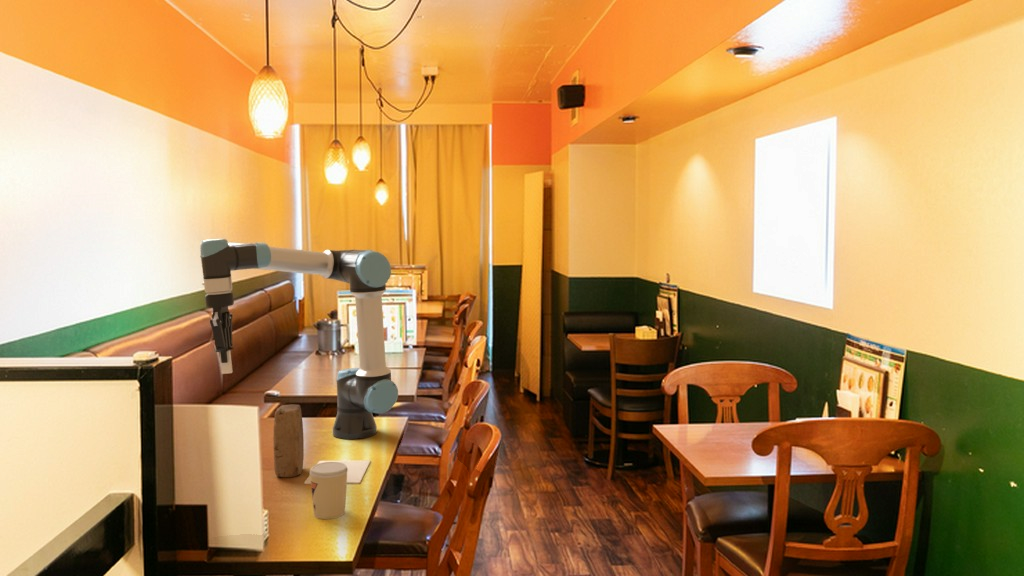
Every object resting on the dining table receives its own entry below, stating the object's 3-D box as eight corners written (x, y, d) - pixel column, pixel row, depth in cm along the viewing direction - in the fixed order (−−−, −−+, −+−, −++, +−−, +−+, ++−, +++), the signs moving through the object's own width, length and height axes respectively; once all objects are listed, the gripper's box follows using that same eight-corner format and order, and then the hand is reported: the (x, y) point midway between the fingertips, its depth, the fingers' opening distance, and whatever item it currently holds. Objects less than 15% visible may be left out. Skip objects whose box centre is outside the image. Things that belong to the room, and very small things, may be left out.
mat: (319, 462, 235) (319, 460, 235) (370, 461, 235) (370, 460, 235) (304, 484, 215) (304, 482, 215) (359, 483, 215) (359, 482, 215)
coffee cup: (313, 507, 198) (313, 461, 197) (350, 506, 198) (349, 461, 197) (307, 520, 188) (306, 473, 187) (345, 519, 189) (345, 472, 188)
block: (298, 478, 219) (297, 410, 218) (272, 479, 219) (270, 410, 217) (306, 466, 230) (305, 401, 228) (281, 467, 230) (280, 402, 228)
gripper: (213, 291, 225) (221, 369, 228) (197, 296, 212) (206, 378, 215) (238, 289, 226) (246, 367, 228) (224, 294, 213) (233, 376, 215)
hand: (227, 373), depth 221 cm, fingers closed
